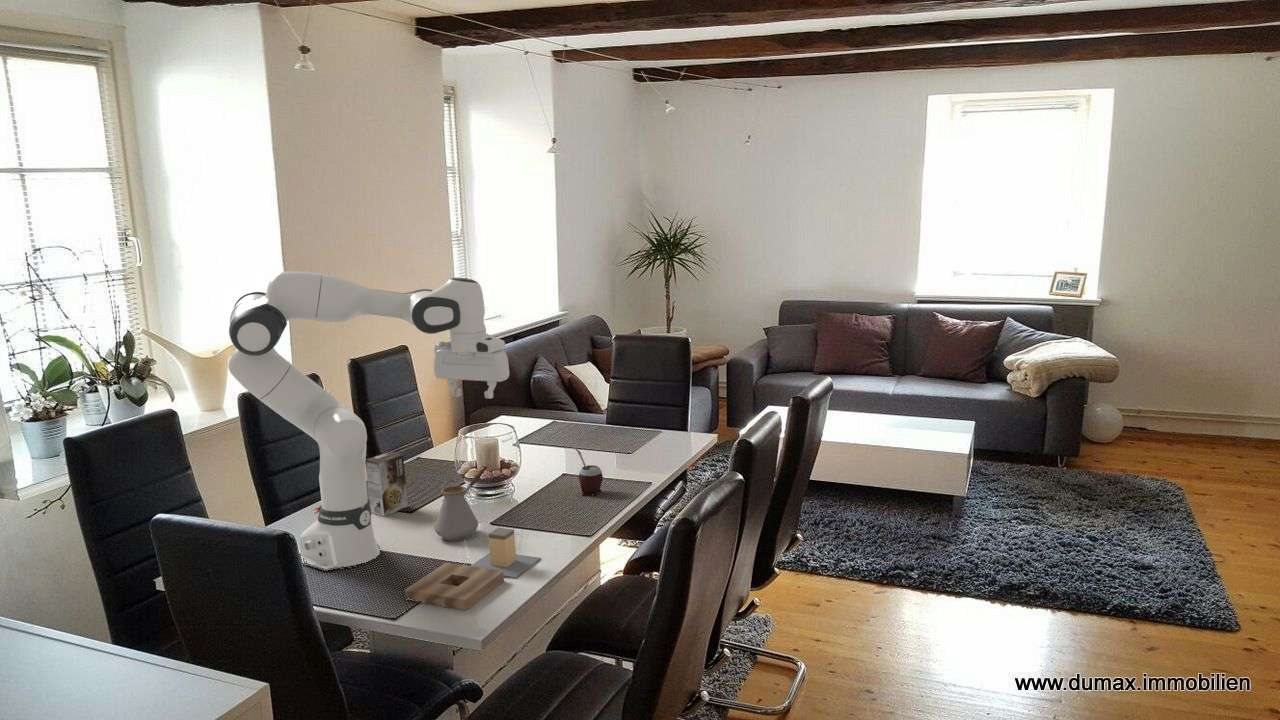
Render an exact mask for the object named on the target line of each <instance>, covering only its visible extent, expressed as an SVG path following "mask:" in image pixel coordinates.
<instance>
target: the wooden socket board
mask: <svg viewBox="0 0 1280 720" xmlns="http://www.w3.org/2000/svg"><path fill="white" fill-rule="evenodd" d="M503 582H505V577H504V574H503V571H500V570H493V569H486V568H480V567H473V566H471V565H466V564H460V563H459V564H458V563H452V562H444V563H443V564H442V565H440V566H439V567H437V568H435V569H434V570H432V571H430V573H427V574H426V575H425V576H423V577H421V578H420V579H419V580H417V581H416V582H413V584H411V585H410V586H408V587H407V588H405V589H404V597H405V598H409V599H414V600H418V601H421V602H423V603H422V604H425V603H426V605H431V606H437V607H442V608H448V609H455V610H460V611H466V612H467V610H468V609H470V608H471V607H472V606H474V605H475V604H476V603H478V602H479V601H480V600H482V599H483V598H484V597H486V596H487V595H488V594H489V593H491V592H492V591H493V590H494V589H496V588H497V587H498V586H499V585H501V584H502V583H503Z"/></svg>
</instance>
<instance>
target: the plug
mask: <svg viewBox="0 0 1280 720" xmlns="http://www.w3.org/2000/svg"><path fill="white" fill-rule="evenodd" d="M487 535H488V543H489V544H488V546H489V553H490V562H491V565H493V566H500V567H508V566H509V565H511V564H512V563H513V562H515V561H516V554H517V552H516V550H517V549H516V539H515V538H516V537H515V529H513V528H505V527H496V528H494V530H492V531H491V532H489V533H488V534H487Z"/></svg>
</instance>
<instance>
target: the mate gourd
mask: <svg viewBox="0 0 1280 720" xmlns="http://www.w3.org/2000/svg"><path fill="white" fill-rule="evenodd" d="M570 447H571V448H573V449H574V450H575V451H576V452H577V454H578V456H579V458H580V460H581V462H582V465H583V466H582V467H581V469H580V470H579V473H578V480H579V484H580V488H581V492H582V494H581V496H582V495H586V496H588V495H587V494H590V495H591V494H593V495H594V497H595V496H596V497H598V496H597V495H598V493H597V492H599V493H602V490H601V487H602V484H603V479H604V475H603V472H602V470H601V469H602V468H601V467H600V466H597V465H593V464H591V465H586V463H585V461H584V458H583V455H582V453H581V451H580V450H579V449H578V448H577V447H575V446H574V445H572V444H570ZM593 495H592V496H593Z"/></svg>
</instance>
